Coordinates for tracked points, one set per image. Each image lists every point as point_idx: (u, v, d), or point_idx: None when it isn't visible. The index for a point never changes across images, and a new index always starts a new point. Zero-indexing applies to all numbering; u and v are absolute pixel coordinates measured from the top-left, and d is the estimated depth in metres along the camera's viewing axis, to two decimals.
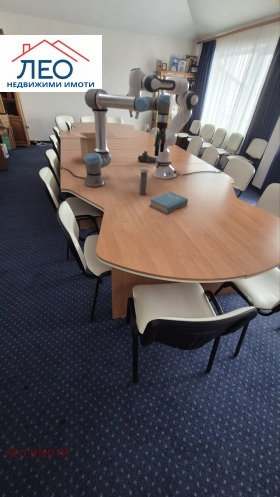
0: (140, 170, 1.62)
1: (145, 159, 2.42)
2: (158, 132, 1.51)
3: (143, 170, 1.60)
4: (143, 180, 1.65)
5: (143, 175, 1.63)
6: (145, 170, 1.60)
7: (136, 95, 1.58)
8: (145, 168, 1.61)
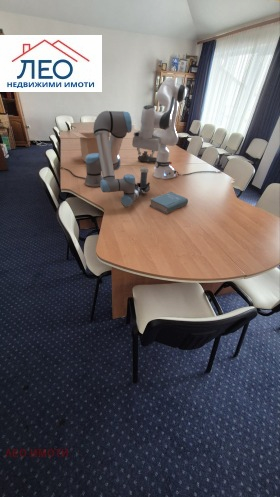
0: (140, 170, 1.62)
1: (145, 159, 2.42)
2: None
3: (143, 170, 1.60)
4: (143, 180, 1.65)
5: (143, 175, 1.63)
6: (145, 170, 1.60)
7: (152, 134, 1.46)
8: (145, 168, 1.61)
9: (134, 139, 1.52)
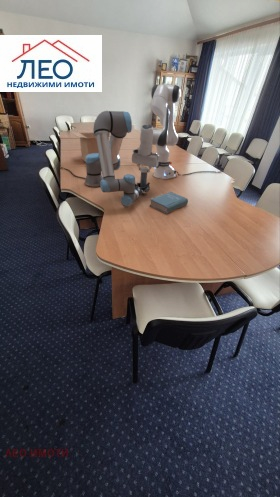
0: (140, 170, 1.62)
1: None
2: None
3: (143, 170, 1.60)
4: (143, 180, 1.65)
5: (143, 175, 1.63)
6: (145, 170, 1.60)
7: (150, 151, 1.52)
8: (145, 168, 1.61)
9: (133, 155, 1.58)
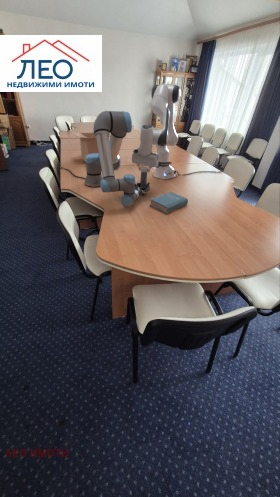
0: (145, 171, 1.60)
1: None
2: None
3: None
4: (143, 180, 1.65)
5: (143, 175, 1.63)
6: None
7: (150, 151, 1.52)
8: (145, 167, 1.62)
9: (133, 155, 1.58)
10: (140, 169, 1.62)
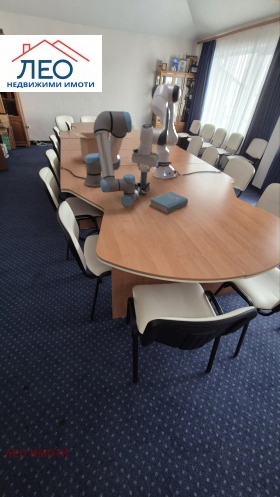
0: None
1: None
2: None
3: None
4: (143, 180, 1.65)
5: (143, 175, 1.63)
6: None
7: (150, 151, 1.52)
8: (143, 167, 1.62)
9: (133, 155, 1.58)
10: (145, 170, 1.60)
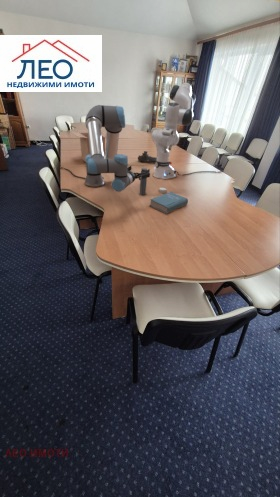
0: (164, 192, 1.78)
1: (145, 159, 2.42)
2: None
3: None
4: (143, 180, 1.65)
5: None
6: None
7: None
8: (163, 188, 1.79)
9: (168, 139, 1.50)
10: (159, 190, 1.78)
